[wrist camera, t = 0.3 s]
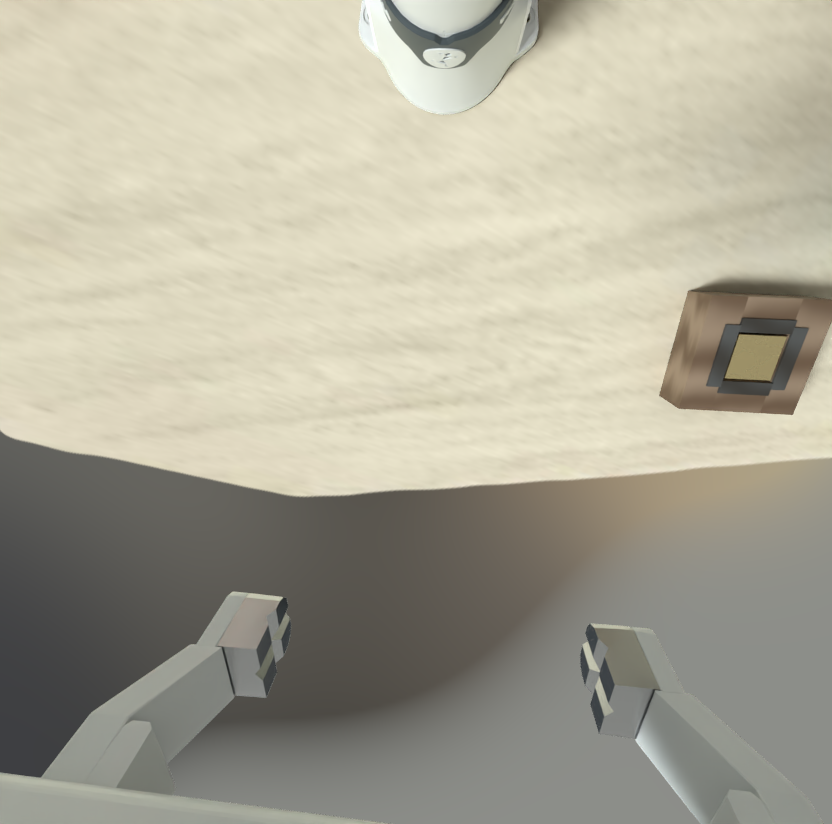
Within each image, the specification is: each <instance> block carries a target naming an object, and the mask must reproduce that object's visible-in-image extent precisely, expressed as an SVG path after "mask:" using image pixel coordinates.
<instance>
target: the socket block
mask: <svg viewBox="0 0 832 824" xmlns="http://www.w3.org/2000/svg"><path fill="white" fill-rule="evenodd" d="M831 321H832V299H824V298H816V297H808V296H794V295H770V294H746V293H723V292H699V291H688V294H687V297H686V301H685V305H684V308H683V312H682V315H681V319H680V323H679V326H678V330H677V334H676V337H675V341H674V344H673V348H672V352H671V355H670V359H669V362H668V366H667V370H666V373H665V377H664V380H663V384H662V388H661V391H660V395H659V396H661V397H662V398H664V399H665V400H667V401H668V402H670V403H671V404H673V405H674V406H676V407H677V408H679V409H696V410H714V411H733V412H751V413H769V414H787V415H793V413H794V410H795V408H796V406H797V403H798V401H799V398H800V396H801V394H802V391H803V389H804V386H805V384H806V381H807V379H808V377H809V374H810V372H811V369H812V367H813V365H814V362H815V360H816V357H817V355H818V353H819V350H820V348H821V345H822V343H823V341H824V338H825V336H826V333H827V331H828V329H829V326H830V324H831ZM739 332H747V333H757V334H769V335H782V336H786V337H787V338H786V341H785V343H784V346H783V349H782V351H781V354H780V356H779V359H778V362H777V364H776V367H775V370H774V372H773V375H772V377H771V380H770V381H768V380H748V379H729V378H724V375H725V372H726V369H727V366H728V363H729V360H730V357H731V354H732V351H733V348H734V345H735V342H736V339H737V336H738V333H739Z"/></svg>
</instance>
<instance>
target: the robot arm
mask: <svg viewBox="0 0 832 824" xmlns="http://www.w3.org/2000/svg"><path fill="white" fill-rule="evenodd" d="M527 18H529V22H528V23H526V22H527ZM538 29H539V26H538V0H362V5H361V13H360V20H359V35H360V39H361V41H362V43H363V44H364V46H365V47H366V48H367V49H368V50H369V51H370V52H371V53H373V54H374V55H375V56H376V57H377V58H379V59H380V60H381V62H382V63H383V65H384V66H385V68H386V70H387V72H388V74H389V76H390V78H391V80H392V81H393V83H394V85H395V86H396V88H397V89H398V90H399V92H400V93H401V94H402V95H403V96H404V97H405V98H406V99H407V100H408V101H409V102H411V103H412V104H413V105H415V106H417V107H418V108H420V109H422V110H425V111H427V112H431V113H435V114H454V113H459V112H462V111H465V110H467V109H470V108H472V107H473V106H475V105H477V104H478V103H480V102H481V101H482V100H483V99H485V98H486V97H487V96H488V95H489V94H490V93H491V92H492V91H493V90H494V88H495V87H496V86H497V84H498V83H499V82H500V80H501V78H502V77H503V75H504V74H505V72H506V71H507V69H508V68H509V66H510V65H511V64H512V63H513V62H514V61H515V60H517V59H518V58H520V57H521V56H522V55H524V54H525V53H526V52H527V51H528V50H530V49H531V48H532V46H533V45H534V44H535V42H536V39H537V35H538ZM287 609H288V602H287V598H285V597H278V596H269V595H261V594H252V593H242V592H232V593H231V594H229V595H228V596H227V597H226V599H225V601H224V602H223V604H222V605H221V607H220V608H219V610H218V611H217V613H216V614H215V616H214V618H213V619H212V621H211V622H210V624H209V625H208V627H207V628H206V630H205V632H204V633H203V635H202V636H201V638H200V639H199V641H198V642H197V644H196V645H195V644H194V645H193V644H191V645H189V646H188V647H186V648H185V649H183V650H182V651H180V652H179V653H177V654H176V655H174V656H173V657H172V658H170V659H169V660H167V661H166V662H164V663H163V664H161V665H160V666H159V667H157V668H156V669H154V670H153V671H151V672H150V673H148V674H147V675H145V676H144V677H142V678H141V679H140V680H138V681H137V682H135V683H134V684H132V685H131V686H129V687H128V688H126V689H125V690H124V691H122V692H121V693H119V694H118V695H116V696H115V697H114V698H112V699H110V700H109V701H108V702H106V703H105V704H103V705H102V706H100V707H99V708H98V709H96V710H94V711H93V712H92V713H90V715H89V716H88V717H87V719H86V720H85V721H84V723H83V724H82V725H81V727H80V728H79V729H78V730H77V732H76V733H75V734H74V736H73V737H72V738H71V739H70V741H69V742H68V743H67V745H66V746H65V747H64V748H63V750H62V751H61V752H60V754H59V755H58V756H57V758H56V759H55V760H54V761H53V763H52V764H51V765H50V766H49V768H48V769H47V771H46V772H45V773H44V774H43V776H42V777H41V778H37V777H29V776H21V775H13V774H6V773H0V824H389V823H381V822H374V821H366V820H359V819H351V818H343V817H335V816H328V815H320V814H313V813H305V812H298V811H290V810H282V809H275V808H274V809H273V808H266V807H259V806H251V805H244V804H236V803H228V802H220V801H213V800H205V799H198V798H189V797H182V796H175V795H173V794H174V792H175V790H176V787H175V782H174V779H173V777H172V775H171V772H170V770H169V767H168V765H167V763H168V762H169V761H170V760H171V759H172V758H173V757H175V756H176V754H178V752H180V751H181V750H182V749H183V748H184V747H185V746H186V745H187V743H189V742H190V741H191V740H192V739H193V738H194V737H195V736H196V735H197V734H198V732H200V731H201V730H202V729H203V728H204V727H205V726H206V725H207V724H208V723H209V722H210V721H211V720H212V719H213V718H214V717H215V716H216V715H217V714H218V713H219V712H220V711H221V710H222V709H223V708H224V707H225V706H226V705H227V704H228V703H229V702H230V701H231V700H232V699H233V698H234V695H238V696H252V697H264V698H266V697H267V695H268V692H269V690H270V688H271V685H272V683H273V681H274V678H275V676H276V673H277V669H276V662H277V661H278V660H279V659H280V658H282V657H283V656H284V654H285V651H286V649H287V646H288V643H289V638H290V634H291V620H290V618H289V617H288V615H287V614H286V611H287ZM586 637H587V640H588V641H587V642H586V643H585V644H583V645H582V649H581V654H580V664H581V672H582V677H583V680H584V684H585V686H586V687H587V688H588V690H589V691H590V692H591V693H592V694H593V697H592V701H591V708H592V712H593V715H594V718H595V721H596V725H597V728H598V732H599V734H605V735H611V736H618V737H626V738H633V739H636V742H637V743H638V745H639V746H640V747H641V749H642V750H643V751H644V752H645V754H646V755H647V756H648V758H649V759H650V760H651V761H652V763H653V764H654V765H655V766H656V768H657V769H658V770H659V772H660V773H661V774H662V775H663V776H664V778H665V779H666V780H667V782H668V783H669V784H670V786H671V787H672V788H673V789H674V791H675V792H676V793H677V794H678V796H679V797H680V798H681V799H682V801H683V802H684V803H685V805H686V806H687V807H688V809H689V810H690V811H691V812H692V814H693V815H694V816H695V817H696V819H697V820H698V821H699V823H700V824H824V823H823V821H822V820H821V818H820V817H819V815H818V813H817V812H816V810H815V809H814V807H813V805H812V804H811V802H810V801H809V799H808V798H807V796H806V795H804V794H803V793H802V792H801V791H800V790H799V789H798V788H797V787H795V786H794V785H793V784H792V783H791V782H790V781H789V780H788V779H786V778H785V777H784V776H783V775H782V774H781V773H780V772H779V771H777V770H776V769H775V768H774V767H773V766H772V765H771V764H770V763H769V762H767V761H766V760H765V759H764V758H763V757H762V756H761V755H760V754H759V753H757V752H756V751H755V750H754V749H753V748H752V747H751V746H750V745H748V744H747V743H746V742H745V741H744V740H743V739H742V738H741V737H739V736H738V735H737V734H736V733H735V732H734V731H733V730H732V729H731V728H729V727H728V726H727V725H726V724H725V723H724V722H723V721H721V720H720V719H719V718H718V717H717V716H716V715H715V714H714V713H713V712H711V711H710V710H709V709H708V708H707V707H706V706H705V705H704V704H703V703H701V702H700V701H699V700H698V699H697V698H696V697H695V696H694V695H692V694H687V693H685V691H684V689H683V687H682V685H681V683H680V682H679V679H678V678H677V676H676V674H675V672H674V670H673V668H672V666H671V664H670V662H669V660H668V658H667V656H666V654H665V652H664V650H663V648H662V646H661V644H660V642H659V640H658V638H657V636H656V635H655V633H654V632H653V631H652V630H651V629H648V628H636V627H628V626H617V625H603V624H589V625H588V627H587V629H586Z"/></svg>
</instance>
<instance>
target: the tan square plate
mask: <svg viewBox="0 0 832 824" xmlns="http://www.w3.org/2000/svg"><path fill="white" fill-rule="evenodd" d="M786 338H787V337H786V336H782V335H769V334H747V333H738V336H737V339H736V342H735V345H734V348H733V351H732V354H731V357H730V360H729V363H728V366H727V369H726V372H725V375H724V378H729V379H748V380H768V381H770V380H771V377H772V375H773V372H774V370H775V367H776V364H777V362H778V359H779V356H780V354H781V351H782V349H783V346H784V343H785V341H786Z"/></svg>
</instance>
